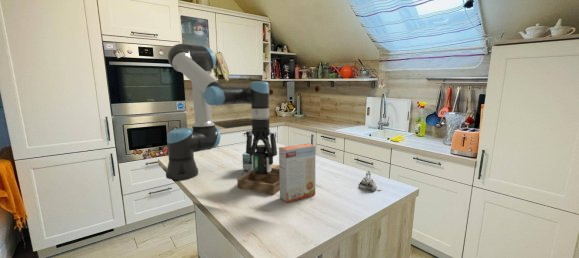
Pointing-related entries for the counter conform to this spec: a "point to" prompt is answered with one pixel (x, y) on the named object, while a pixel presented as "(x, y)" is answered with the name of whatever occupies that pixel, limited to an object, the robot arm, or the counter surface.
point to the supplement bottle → (260, 160)
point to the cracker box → (297, 172)
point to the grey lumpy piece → (368, 183)
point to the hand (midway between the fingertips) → (261, 170)
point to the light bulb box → (246, 163)
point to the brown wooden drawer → (260, 183)
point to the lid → (273, 170)
